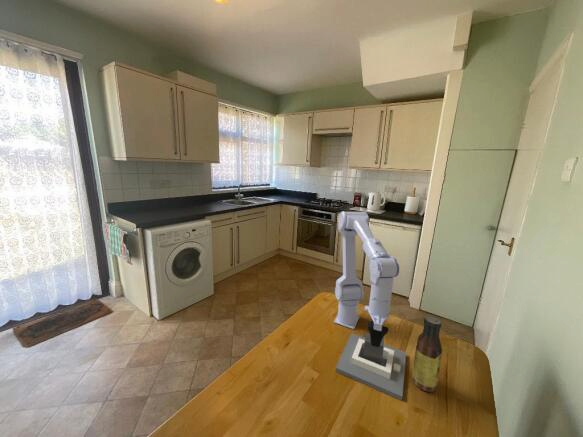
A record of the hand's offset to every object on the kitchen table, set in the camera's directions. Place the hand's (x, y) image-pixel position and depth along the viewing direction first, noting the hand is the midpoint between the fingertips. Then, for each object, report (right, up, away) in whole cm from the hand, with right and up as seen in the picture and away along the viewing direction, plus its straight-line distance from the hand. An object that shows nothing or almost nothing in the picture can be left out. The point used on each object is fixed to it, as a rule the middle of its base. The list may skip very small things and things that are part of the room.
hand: (375, 337), depth 72 cm
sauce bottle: (+12, -11, -5) cm, 17 cm away
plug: (-1, -8, +2) cm, 8 cm away
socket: (0, -9, +2) cm, 9 cm away
